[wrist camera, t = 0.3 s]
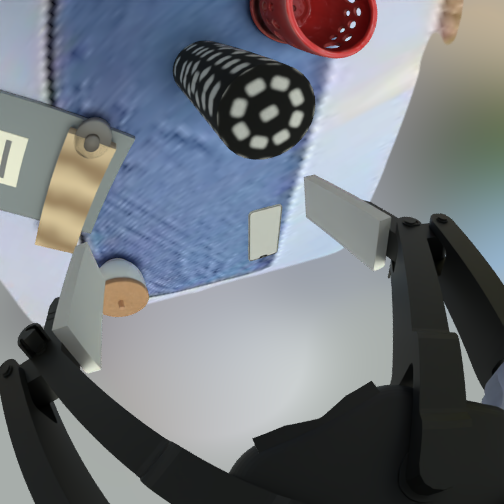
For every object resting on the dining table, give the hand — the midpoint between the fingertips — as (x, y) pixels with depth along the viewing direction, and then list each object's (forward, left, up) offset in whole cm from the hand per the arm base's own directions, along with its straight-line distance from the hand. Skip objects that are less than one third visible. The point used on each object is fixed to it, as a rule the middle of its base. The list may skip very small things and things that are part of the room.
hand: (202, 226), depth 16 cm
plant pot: (-22, +7, -27) cm, 36 cm away
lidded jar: (+32, +9, -27) cm, 43 cm away
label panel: (+15, -11, -27) cm, 33 cm away
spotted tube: (-7, +4, -27) cm, 29 cm away
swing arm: (+15, -5, -25) cm, 30 cm away
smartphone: (+14, +35, -28) cm, 47 cm away
